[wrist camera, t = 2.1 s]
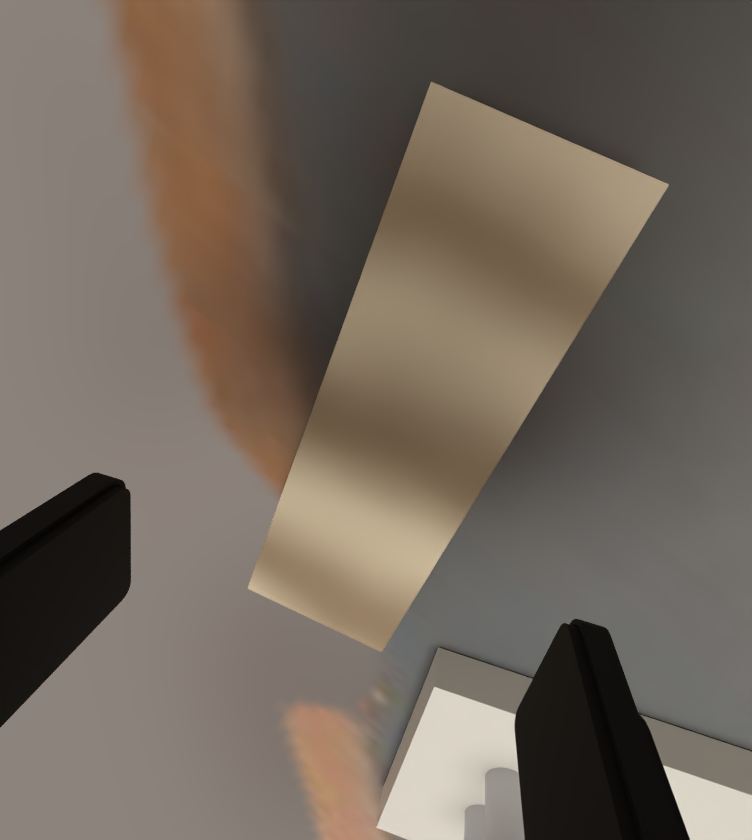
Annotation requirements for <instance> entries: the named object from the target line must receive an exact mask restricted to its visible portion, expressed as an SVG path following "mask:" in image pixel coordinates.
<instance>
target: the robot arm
mask: <svg viewBox="0 0 752 840" xmlns="http://www.w3.org/2000/svg"><path fill="white" fill-rule="evenodd" d="M130 520H131V513H130V492H129V490H128V489H126V487H125V484H124V482H123V481H122V480H120V479H117V478H113V477H110V476H107V475H103V474H100V473H92V474H90V475H88V476H87V477H85V478H83V479H82V480H80V481H79V482H77V483H75V484H74V485H72V486H71V487H69V488H67V489H66V490H64V491H63V492H61V493H59V494H58V495H56V496H55V497H53V498H51V499H50V500H48V501H47V502H45V503H43V504H42V505H40V506H39V507H37V508H35V509H34V510H32V511H31V512H29V513H27V514H26V515H24V516H23V517H21V518H19V519H18V520H16V521H15V522H13V523H11V524H10V525H8V526H7V527H5V528H3V529H2V530H0V727H1V726H2V725H3V724H4V723H5V722H6V721H7V720H8V719H9V718H10V717H11V716H12V715H13V714H14V713H15V712H16V711H17V709H19V707H20V706H21V705H22V704H23V703H24V702H25V701H26V700H27V699H28V698H29V697H30V696H31V695H32V694H33V693H34V692H35V691H36V690H37V689H38V688H39V687H40V685H41V684H42V683H43V682H44V681H45V680H46V679H47V678H48V677H49V676H50V675H51V674H52V673H53V672H54V671H55V670H56V669H57V668H58V667H59V666H60V664H62V662H63V661H64V660H65V659H66V658H67V657H68V656H69V655H70V654H71V653H72V652H73V651H74V650H75V649H76V648H77V647H78V646H79V645H80V644H81V643H82V642H83V640H85V638H86V637H87V636H88V635H89V634H90V633H91V632H92V631H93V630H94V629H95V628H96V627H97V626H98V625H99V624H100V623H101V622H102V621H103V620H104V619H105V618H106V616H107V615H108V614H109V613H110V612H111V611H112V610H113V609H114V608H115V607H116V606H117V605H118V604H119V603H120V602H121V601H122V599H123V598H124V597H125V596H126V594H127V592H128V590H129V587H130V583H131V547H130V546H131V533H130V532H131V525H130V524H131V521H130ZM514 727H515V740H516V751H517V762H518V772H519V783H520V794H521V805H522V816H523V827H524V837H525V840H690V838H689V835H688V832H687V830H686V827H685V824H684V822H683V819H682V816H681V813H680V811H679V808H678V805H677V802H676V800H675V797H674V794H673V792H672V789H671V786H670V783H669V781H668V778H667V775H666V772H665V770H664V767H663V764H662V762H661V759H660V756H659V753H658V751H657V748H656V745H655V743H654V740H653V737H652V734H651V732H650V729H649V727H648V725H647V723H646V721H645V720H644V719H643V718H642V716H641V715H640V714H638V711H637V709H636V706H635V703H634V700H633V697H632V694H631V692H630V689H629V686H628V683H627V680H626V678H625V675H624V672H623V669H622V666H621V664H620V661H619V658H618V655H617V652H616V649H615V647H614V644H613V641H612V638H611V635H610V633H609V631H608V630H607V629H606V628H605V627H602V626H598V625H595V624H592V623H589V622H585V621H582V620H579V619H574V620H573V621H572V622H571V623H570V625H569V624H566V623H563V624H562V625H561V626H560V628H559V630H558V632H557V634H556V636H555V637H554V639H553V641H552V643H551V645H550V647H549V649H548V651H547V653H546V655H545V657H544V659H543V661H542V663H541V664H540V666H539V668H538V670H537V672H536V674H535V676H534V678H533V680H532V682H531V684H530V686H529V688H528V689H527V691H526V693H525V695H524V697H523V699H522V701H521V703H520V705H519V707H518V709H517V712H516V716H515V725H514Z"/></svg>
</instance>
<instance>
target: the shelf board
mask: <svg viewBox="0 0 752 840" xmlns="http://www.w3.org/2000/svg"><path fill="white" fill-rule="evenodd" d="M668 186H669V184H667V183H664V182H662V181H660V180H657V179H655V178H653V177H650V176H648V175H646V174H644V173H641V172H639V171H637V170H634V169H632V168H630V167H627V166H625V165H623V164H620V163H618V162H616V161H613V160H611V159H609V158H607V157H604V156H602V155H600V154H597V153H595V152H593V151H590V150H588V149H586V148H583V147H581V146H579V145H576V144H574V143H572V142H570V141H567V140H565V139H563V138H560V137H558V136H556V135H553V134H551V133H549V132H546V131H544V130H542V129H539V128H537V127H535V126H533V125H530V124H528V123H526V122H523V121H521V120H519V119H516V118H514V117H512V116H509V115H507V114H505V113H502V112H500V111H498V110H496V109H493V108H491V107H489V106H486V105H484V104H482V103H479V102H477V101H475V100H472V99H470V98H468V97H466V96H463V95H461V94H459V93H456V92H454V91H452V90H449V89H447V88H445V87H442V86H440V85H438V84H435V83H433V82H431V83H430V86H429V89H428V92H427V94H426V97H425V100H424V103H423V105H422V108H421V111H420V114H419V117H418V119H417V122H416V125H415V128H414V130H413V133H412V136H411V139H410V141H409V144H408V147H407V150H406V152H405V155H404V158H403V161H402V163H401V166H400V169H399V172H398V175H397V177H396V180H395V183H394V186H393V188H392V191H391V194H390V197H389V199H388V202H387V205H386V208H385V210H384V213H383V216H382V219H381V221H380V224H379V227H378V230H377V233H376V235H375V238H374V241H373V244H372V246H371V249H370V252H369V255H368V257H367V260H366V263H365V266H364V268H363V271H362V274H361V277H360V279H359V282H358V285H357V288H356V291H355V293H354V296H353V299H352V302H351V304H350V307H349V310H348V313H347V315H346V318H345V321H344V324H343V326H342V329H341V332H340V335H339V337H338V340H337V343H336V346H335V349H334V351H333V354H332V357H331V360H330V362H329V365H328V368H327V371H326V373H325V376H324V379H323V382H322V384H321V387H320V390H319V393H318V395H317V398H316V401H315V404H314V406H313V409H312V412H311V415H310V418H309V420H308V423H307V426H306V429H305V431H304V434H303V437H302V440H301V442H300V445H299V448H298V451H297V453H296V456H295V459H294V462H293V464H292V467H291V470H290V473H289V476H288V478H287V481H286V484H285V487H284V489H283V492H282V495H281V498H280V500H279V503H278V506H277V509H276V511H275V514H274V517H273V520H272V522H271V526H270V528H269V531H268V534H267V536H266V539H265V542H264V545H263V547H262V550H261V553H260V556H259V559H258V561H257V564H256V567H255V569H254V572H253V575H252V578H251V580H250V584H249V586H248V589H250V590H252V591H254V592H256V593H258V594H260V595H262V596H265V597H266V598H269V599H271V600H273V601H275V602H277V603H279V604H281V605H283V606H285V607H288V608H290V609H292V610H294V611H296V612H298V613H300V614H302V615H305V616H306V617H309V618H311V619H313V620H315V621H317V622H319V623H321V624H323V625H326V626H328V627H330V628H332V629H334V630H336V631H338V632H340V633H342V634H344V635H346V636H348V637H350V638H352V639H355V640H357V641H359V642H361V643H363V644H365V645H367V646H369V647H371V648H373V649H376V650H378V651H380V652H382V651H383V649H384V647H385V646H386V644H387V642H388V641H389V639H390V638H391V636H392V634H393V633H394V631H395V629H396V628H397V626H398V625H399V623H400V621H401V620H402V618H403V616H404V615H405V613H406V612H407V610H408V608H409V607H410V605H411V603H412V602H413V600H414V599H415V597H416V595H417V594H418V592H419V590H420V589H421V587H422V586H423V584H424V582H425V581H426V579H427V577H428V576H429V574H430V573H431V571H432V569H433V568H434V566H435V564H436V563H437V561H438V560H439V558H440V556H441V555H442V553H443V551H444V550H445V548H446V547H447V545H448V543H449V542H450V540H451V538H452V537H453V535H454V534H455V532H456V530H457V529H458V527H459V525H460V524H461V522H462V521H463V519H464V517H465V516H466V514H467V512H468V511H469V509H470V508H471V506H472V504H473V503H474V501H475V499H476V498H477V496H478V495H479V493H480V491H481V490H482V488H483V486H484V485H485V483H486V482H487V480H488V478H489V477H490V475H491V473H492V472H493V470H494V469H495V467H496V465H497V464H498V462H499V460H500V459H501V457H502V456H503V454H504V452H505V451H506V449H507V447H508V446H509V444H510V443H511V441H512V439H513V438H514V436H515V434H516V433H517V431H518V430H519V428H520V426H521V425H522V423H523V421H524V420H525V418H526V417H527V415H528V413H529V412H530V410H531V408H532V407H533V405H534V404H535V402H536V400H537V399H538V397H539V395H540V394H541V392H542V391H543V389H544V387H545V386H546V384H547V382H548V381H549V379H550V378H551V376H552V374H553V373H554V371H555V369H556V368H557V366H558V365H559V363H560V361H561V360H562V358H563V356H564V355H565V353H566V352H567V350H568V348H569V347H570V345H571V343H572V342H573V340H574V339H575V337H576V335H577V334H578V332H579V330H580V329H581V327H582V325H583V324H584V322H585V321H586V319H587V317H588V316H589V314H590V312H591V311H592V309H593V308H594V306H595V304H596V303H597V301H598V299H599V298H600V296H601V295H602V293H603V291H604V290H605V288H606V286H607V285H608V283H609V282H610V280H611V278H612V277H613V275H614V273H615V272H616V270H617V269H618V267H619V265H620V264H621V262H622V260H623V259H624V257H625V256H626V254H627V252H628V251H629V249H630V247H631V246H632V244H633V243H634V241H635V239H636V238H637V236H638V234H639V233H640V231H641V230H642V228H643V226H644V225H645V223H646V221H647V220H648V218H649V217H650V215H651V213H652V212H653V210H654V208H655V207H656V205H657V204H658V202H659V200H660V199H661V197H662V195H663V194H664V192H665V191H666V189H667V187H668Z"/></svg>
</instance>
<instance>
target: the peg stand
mask: <svg viewBox="0 0 752 840" xmlns="http://www.w3.org/2000/svg"><path fill="white" fill-rule="evenodd" d="M532 680H533V679H532V678H529V677H526V676H523V675H520V674H517V673H514V672H511V671H508V670H505V669H502V668H499V667H496V666H493V665H490V664H487V663H484V662H481V661H478V660H475V659H472V658H469V657H466V656H463V655H460V654H457V653H454V652H451V651H448V650H445V649H442V648H439V647H438V649H437V652H436V654H435V657H434V659H433V662H432V664H431V667H430V670H429V672H428V675H427V677H426V680H425V682H424V685H423V687H422V690H421V692H420V695H419V697H418V700H417V703H416V705H415V708H414V710H413V713H412V715H411V718H410V720H409V723H408V725H407V728H406V730H405V733H404V736H403V738H402V741H401V743H400V746H399V748H398V751H397V753H396V756H395V758H394V761H393V763H392V766H391V769H390V771H389V774H388V776H387V779H386V781H385V784H384V786H383V792H382V798H381V804H380V809H379V815H378V821H377V827H376V828H379V829H381V830H384V831H387V832H389V833H392V834H395V835H397V836H400V837H403V838H405V839H408V840H525V837H524V827H523V816H522V805H521V794H520V783H519V772H518V762H517V751H516V740H515V727H514V725H515V716H516V712H517V709H518V707H519V705H520V703H521V701H522V699H523V697H524V695H525V693H526V691H527V689H528V688H529V686H530V684H531V682H532ZM641 716H642V718H643V719H644V720H645V721H646V723H647V725H648V727H649V729H650V732H651V734H652V737H653V740H654V743H655V745H656V748H657V751H658V753H659V756H660V759H661V762H662V764H663V767H664V770H665V772H666V775H667V778H668V781H669V783H670V786H671V789H672V792H673V794H674V797H675V800H676V802H677V805H678V808H679V811H680V813H681V816H682V819H683V822H684V824H685V827H686V830H687V832H688V835H689V838H690V840H752V751H748V750H745V749H742V748H739V747H736V746H733V745H730V744H727V743H724V742H721V741H718V740H715V739H712V738H709V737H706V736H703V735H700V734H697V733H694V732H691V731H688V730H685V729H682V728H679V727H676V726H673V725H670V724H667V723H664V722H661V721H658V720H655V719H652V718H649V717H646V716H643V715H641Z"/></svg>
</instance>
